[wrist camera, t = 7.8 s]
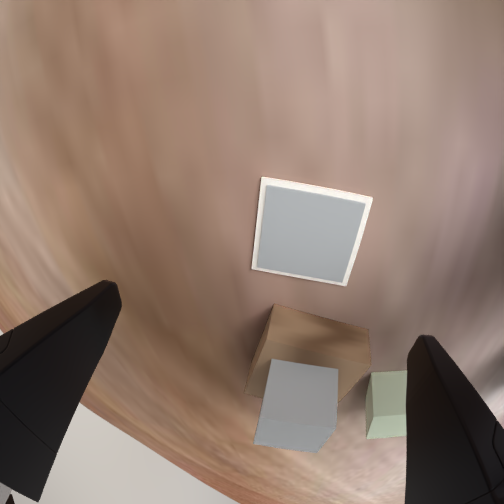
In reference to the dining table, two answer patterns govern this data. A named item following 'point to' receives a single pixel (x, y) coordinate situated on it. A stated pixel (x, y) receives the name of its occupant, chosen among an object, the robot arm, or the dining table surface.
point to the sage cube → (386, 405)
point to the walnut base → (310, 348)
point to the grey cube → (298, 407)
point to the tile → (308, 230)
